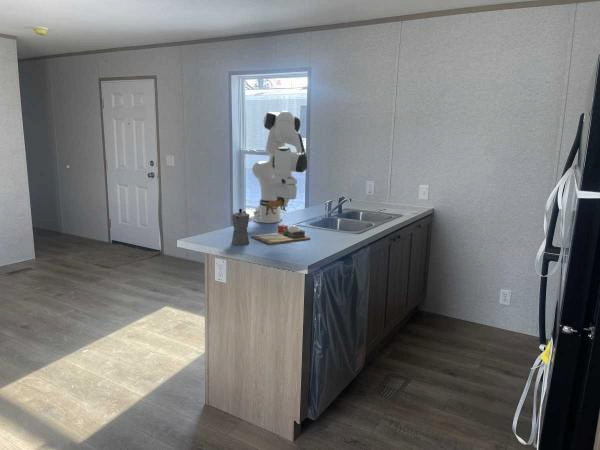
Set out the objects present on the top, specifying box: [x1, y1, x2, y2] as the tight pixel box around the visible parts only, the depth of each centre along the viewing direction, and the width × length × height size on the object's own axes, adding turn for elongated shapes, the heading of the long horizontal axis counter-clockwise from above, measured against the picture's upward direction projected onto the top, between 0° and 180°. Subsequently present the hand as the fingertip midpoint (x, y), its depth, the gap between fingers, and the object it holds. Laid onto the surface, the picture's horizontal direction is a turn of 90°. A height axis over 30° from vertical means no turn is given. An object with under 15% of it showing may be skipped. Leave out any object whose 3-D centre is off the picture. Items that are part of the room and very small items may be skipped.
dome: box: [288, 224, 301, 232], centre depth 243 cm, size 6×6×6 cm
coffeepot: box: [231, 208, 250, 246], centre depth 227 cm, size 15×9×18 cm, turn 171°
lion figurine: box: [265, 197, 287, 216], centre depth 227 cm, size 15×5×9 cm, turn 123°
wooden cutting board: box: [250, 228, 311, 246], centre depth 240 cm, size 19×26×4 cm
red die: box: [277, 224, 289, 233], centre depth 255 cm, size 4×4×4 cm
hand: (282, 205), depth 229 cm, fingers closed on lion figurine, 4 cm apart
